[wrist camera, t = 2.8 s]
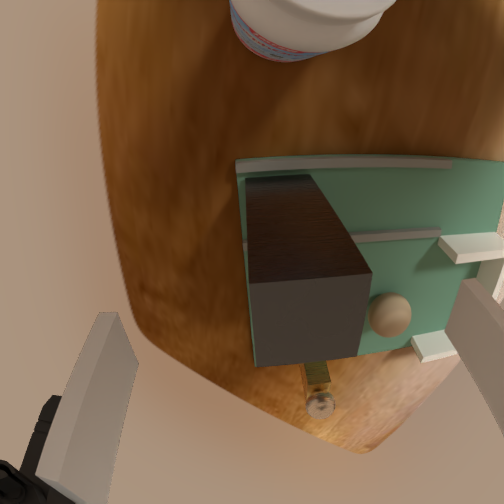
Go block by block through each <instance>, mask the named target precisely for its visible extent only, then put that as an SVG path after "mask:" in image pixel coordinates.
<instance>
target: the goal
mask: <svg viewBox="0 0 504 504" xmlns="http://www.w3.org/2000/svg"><path fill="white" fill-rule="evenodd" d="M438 246H439V247H440V248H441V249H442V250H443V251H444V252H445V253H446V254H447V255H448V256H449V257H450V259H451V260H452V261H453V262H454V263H455V264H460V263H468V262H475V261H481V264H480V267H479V271H478V274H477V277H476V279H477V280H478V281H479V282H480V284H481V285H482V286H483V287H484V288H485V289H486V290H487V291H488V292H489V294H490V295H491V296H492V297H493V298H494V299H495V300H496V299H497V296H498V294H499V291H500V288H501V286H502V283H503V280H504V239H503V238H502V237H501V236H500V235H498V234H497V233H496V232H486V233H472V234H457V235H443V236H440V237H439V240H438ZM444 330H445V329H444ZM444 330H440V331H435V332H430V333H425V334H420V335H415V336H412V338H411V341H410V342H411V344H412V346H413V348H414V350H415V352H416V354H417V356H418V358H419V360H420V362H421V363H424V362H428V361H432V360H436V359H440V358H444V357H448V356H452V355H455V354H458V353H457V351H456V349H455V348H454V346H453V345H452V343H451V341H450V340H449V338H448V337H447V335H446V334H445V332H444Z"/></svg>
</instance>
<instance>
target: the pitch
mask: <svg viewBox="0 0 504 504" xmlns="http://www.w3.org/2000/svg"><path fill="white" fill-rule="evenodd" d="M235 166H236V173H237V184H238V196H239V207H240V217H241V228H242V239H243V251H244V260H245V271H246V281H247V292H248V302H249V313H250V323H251V333H252V343H253V353H254V363H255V367H256V356H255V346H254V335H253V324H252V314H251V303H250V292H249V277H248V250H247V222H246V194H245V178H250V177H264V176H280V175H298V174H310V175H311V176H312V178H313V179H314V181H315V182H316V184H317V185H318V187H319V188H320V190H321V191H322V193H323V194H324V196H325V197H326V199H327V200H328V202H329V203H330V205H331V206H332V208H333V209H334V211H335V212H336V214H337V216H338V217H339V219H340V220H341V222H342V223H343V225H344V227H345V228H346V230H347V231H348V233H349V234H350V236H351V238H352V239H353V241H354V243H355V244H356V246H357V247H358V249H359V251H360V252H361V254H362V256H363V257H364V259H365V261H366V262H367V264H368V266H369V267H370V269H371V271H372V273H373V276H372V282H371V288H370V294H369V300H368V305H367V310H366V316H365V321H364V326H363V331H362V336H361V340H360V345H359V349H358V354H357V355H364V354H370V353H376V352H382V351H388V350H394V349H399V348H404V347H409V346H412V344H411V342H410V341H411V338H412V336H415V335H420V334H425V333H430V332H435V331H440V330H444V329H445V328H446V325H447V322H448V320H449V317H450V314H451V311H452V308H453V306H454V303H455V300H456V297H457V294H458V290H459V287H460V284H461V281H462V280H464V279H470V278H476V277H477V274H478V271H479V267H480V264H481V261H475V262H468V263H460V264H455V263H454V262H453V261H452V260H451V259H450V257H449V256H448V255H447V254H446V253H445V252H444V251H443V250H442V249H441V248H440V247H439V246H438V240H439V237H440V236H443V235H457V234H472V233H486V232H496V231H497V227H498V223H499V219H500V214H501V210H502V205H503V200H504V162H500V161H491V160H481V159H469V158H456V157H441V156H422V155H392V154H328V155H297V156H277V157H261V158H247V159H236V161H235ZM388 292H394V293H397V294H400V295H402V296H403V297H404V298H405V299H406V300H407V301H408V303H409V305H410V307H411V313H412V314H411V321H410V324H409V326H408V327H407V329H406V330H405V331H404V332H403V333H401V334H400V335H398V336H395V337H390V338H387V337H382V336H380V335H378V334H376V333H375V332H374V331H373V330H372V328H371V327H370V324H369V321H368V310H369V307H370V305H371V303H372V302H373V300H374V299H375V298H376V297H378V296H379V295H381V294H383V293H388Z"/></svg>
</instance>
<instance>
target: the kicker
mask: <svg viewBox="0 0 504 504" xmlns="http://www.w3.org/2000/svg"><path fill="white" fill-rule="evenodd" d="M245 194H246V222H247V250H248V277H249V292H250V303H251V314H252V324H253V335H254V346H255V356H256V367H266V366H278V365H290V364H299V366H300V370H301V376H302V382H303V387H304V393H305V399H306V410H307V412H308V414H309V415H310V416H311V417H313V418H316V419H324V418H327V417H329V416H330V415H331V414H332V413H333V411H334V409H335V406H336V402H335V399H334V397H333V395H332V394H331V393H329V391H330V386H331V380H330V376H329V372H328V368H327V364H326V360H334V359H341V358H348V357H355V356H357V354H358V349H359V345H360V340H361V336H362V331H363V326H364V321H365V316H366V310H367V305H368V300H369V294H370V288H371V282H372V276H373V273H372V271H371V269H370V267H369V266H368V264H367V262H366V261H365V259H364V257H363V256H362V254H361V252H360V251H359V249H358V247H357V246H356V244H355V243H354V241H353V239H352V238H351V236H350V234H349V233H348V231H347V230H346V228H345V227H344V225H343V223H342V222H341V220H340V219H339V217H338V216H337V214H336V212H335V211H334V209H333V208H332V206H331V205H330V203H329V202H328V200H327V199H326V197H325V196H324V194H323V193H322V191H321V190H320V188H319V187H318V185H317V184H316V182H315V181H314V179H313V178H312V176H311V175H310V174H298V175H280V176H264V177H250V178H245Z"/></svg>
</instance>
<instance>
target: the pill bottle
mask: <svg viewBox="0 0 504 504" xmlns="http://www.w3.org/2000/svg"><path fill="white" fill-rule="evenodd" d="M395 1H396V0H229V2H230V10H231V20H232V24H233V28H234V31H235V33H236V35H237V36H238V38H239V40H240V41H241V42H242V43H243V44H244V45H245V47H247V48H248V49H249V50H250V51H252V52H253V53H255V54H256V55H258V56H260V57H263V58H265V59H268V60H272V61H277V62H295V61H301V60H305V59H308V58H311V57H314V56H317V55H321V54H324V53H327V52H330V51H334V50H337V49H340V48H343V47H346V46H348V45H351V44H353V43H355V42H357V41H359V40H360V39H362V38H363V37H365V36H366V35H367V34H368V33H369V32H370V31H372V30H373V28H374V27H375V26H376V25H377V23H378V22H379V20H380V18H381V16H382V14H383V12H384V11H385V10H387V9H388V8H389V7H390V6H391V5H393V4H394V2H395Z"/></svg>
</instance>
